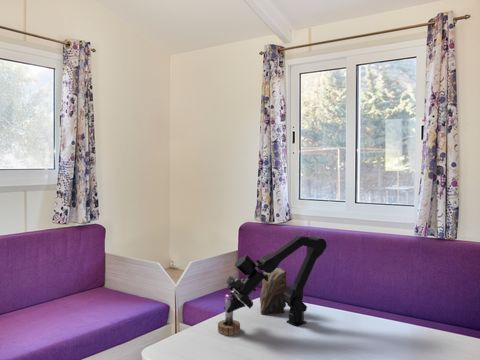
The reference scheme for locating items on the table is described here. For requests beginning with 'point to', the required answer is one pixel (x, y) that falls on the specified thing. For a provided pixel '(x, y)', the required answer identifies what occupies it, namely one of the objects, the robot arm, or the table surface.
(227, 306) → the purple capped tube
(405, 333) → the table surface
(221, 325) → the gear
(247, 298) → the robot arm
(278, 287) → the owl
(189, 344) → the table surface
